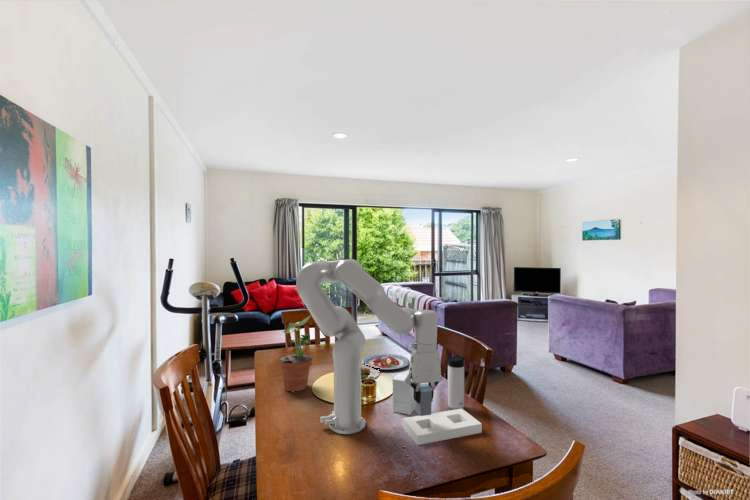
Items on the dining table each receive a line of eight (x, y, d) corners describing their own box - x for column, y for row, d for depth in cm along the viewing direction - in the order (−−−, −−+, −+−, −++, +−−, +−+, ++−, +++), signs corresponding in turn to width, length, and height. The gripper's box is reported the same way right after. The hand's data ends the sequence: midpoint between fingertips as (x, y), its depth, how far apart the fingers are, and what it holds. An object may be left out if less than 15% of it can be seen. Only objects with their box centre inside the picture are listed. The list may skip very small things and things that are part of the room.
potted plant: (315, 380, 163) (315, 307, 164) (309, 393, 148) (310, 312, 148) (281, 381, 163) (282, 307, 163) (273, 394, 148) (273, 312, 148)
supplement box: (416, 407, 135) (416, 375, 135) (410, 415, 129) (410, 381, 129) (399, 404, 138) (399, 372, 139) (392, 411, 132) (392, 378, 132)
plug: (420, 416, 114) (421, 389, 114) (415, 410, 118) (416, 384, 118) (431, 414, 115) (432, 387, 115) (425, 409, 119) (426, 383, 119)
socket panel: (417, 445, 109) (417, 435, 109) (402, 426, 120) (402, 418, 120) (481, 432, 117) (481, 423, 117) (461, 416, 128) (461, 408, 128)
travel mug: (465, 412, 131) (465, 359, 132) (447, 410, 133) (447, 358, 133) (464, 405, 138) (464, 354, 138) (447, 403, 139) (447, 353, 139)
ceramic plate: (359, 358, 198) (359, 353, 198) (402, 356, 203) (402, 351, 203) (366, 374, 173) (366, 368, 173) (415, 371, 177) (415, 365, 177)
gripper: (407, 351, 111) (405, 408, 110) (452, 348, 116) (450, 403, 116) (398, 345, 118) (396, 398, 118) (441, 342, 123) (439, 394, 123)
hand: (423, 400), depth 117 cm, fingers closed on plug, 4 cm apart
